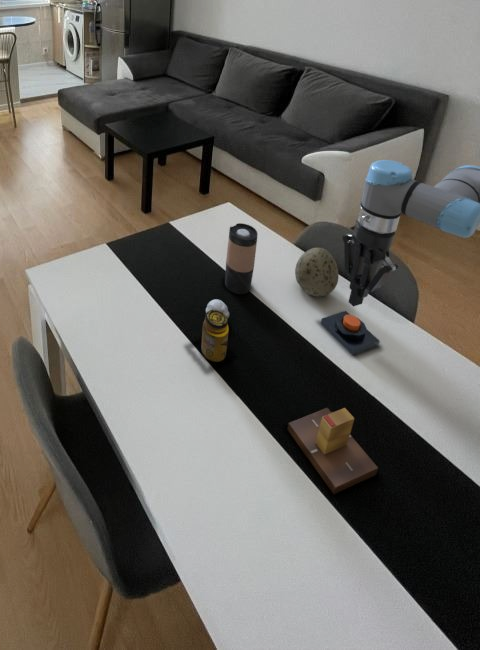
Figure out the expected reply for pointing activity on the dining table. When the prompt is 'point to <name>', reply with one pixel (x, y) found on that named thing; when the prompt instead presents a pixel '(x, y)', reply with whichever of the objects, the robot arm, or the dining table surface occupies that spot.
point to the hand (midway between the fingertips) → (355, 302)
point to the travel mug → (240, 258)
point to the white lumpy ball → (217, 307)
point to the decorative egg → (317, 272)
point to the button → (351, 322)
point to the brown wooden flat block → (332, 455)
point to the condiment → (215, 335)
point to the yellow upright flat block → (334, 430)
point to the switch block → (349, 334)
